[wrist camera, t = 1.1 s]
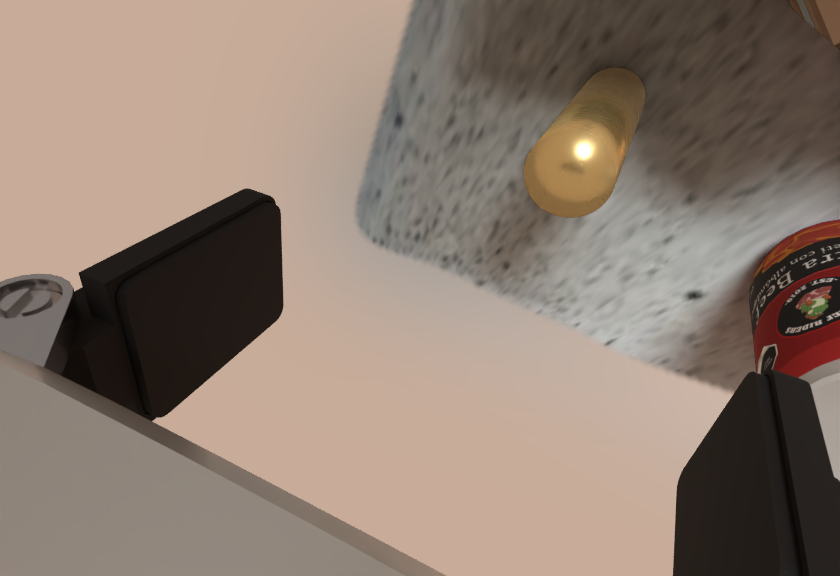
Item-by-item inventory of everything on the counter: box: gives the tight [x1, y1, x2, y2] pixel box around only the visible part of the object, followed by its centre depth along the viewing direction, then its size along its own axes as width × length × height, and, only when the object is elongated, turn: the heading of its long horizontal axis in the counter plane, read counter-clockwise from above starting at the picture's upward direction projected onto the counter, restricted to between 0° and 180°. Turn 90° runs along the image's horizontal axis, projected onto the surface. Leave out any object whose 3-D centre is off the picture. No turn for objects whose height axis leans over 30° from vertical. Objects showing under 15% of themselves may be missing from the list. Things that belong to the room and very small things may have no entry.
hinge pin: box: [524, 67, 646, 218], centre depth 21 cm, size 3×3×10 cm
